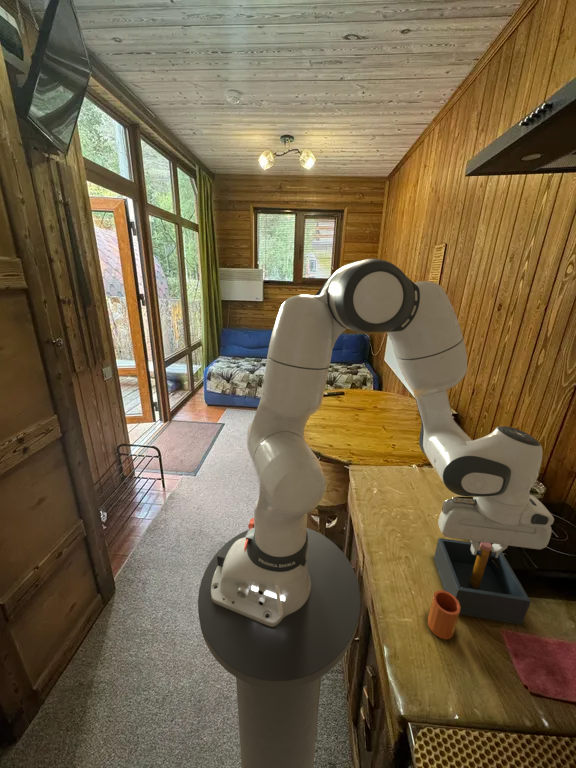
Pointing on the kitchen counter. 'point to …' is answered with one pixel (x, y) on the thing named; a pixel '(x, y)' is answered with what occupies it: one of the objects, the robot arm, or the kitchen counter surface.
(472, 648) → the kitchen counter surface
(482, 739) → the kitchen counter surface
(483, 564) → the pencil
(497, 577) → the bin
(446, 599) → the pen cup
